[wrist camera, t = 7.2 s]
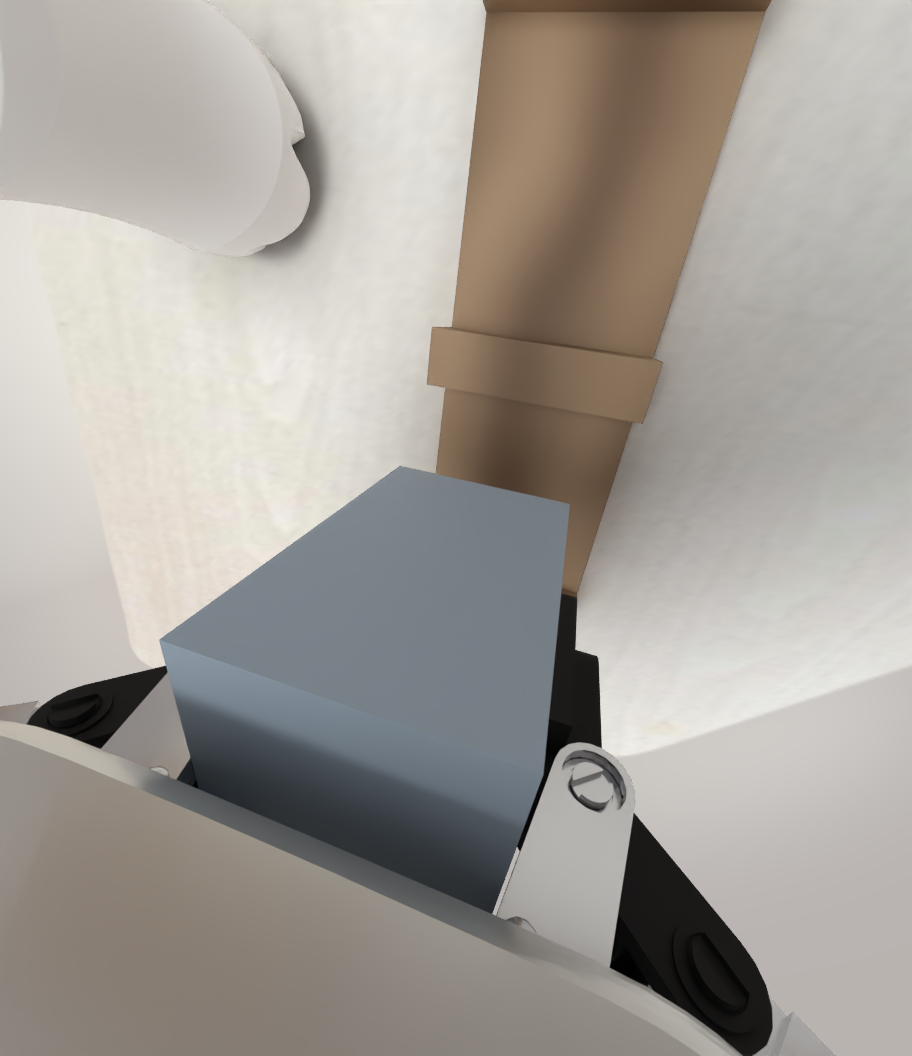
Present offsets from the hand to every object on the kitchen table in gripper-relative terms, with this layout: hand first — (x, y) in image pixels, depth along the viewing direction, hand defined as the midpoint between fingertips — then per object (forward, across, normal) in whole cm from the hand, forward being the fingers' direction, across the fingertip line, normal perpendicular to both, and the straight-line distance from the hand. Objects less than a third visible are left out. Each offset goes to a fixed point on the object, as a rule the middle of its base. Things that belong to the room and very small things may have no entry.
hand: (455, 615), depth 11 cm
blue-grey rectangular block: (+1, 0, 0) cm, 1 cm away
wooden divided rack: (+11, 0, -6) cm, 12 cm away
